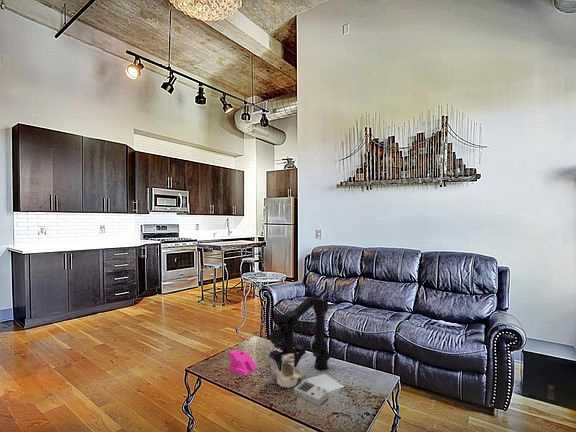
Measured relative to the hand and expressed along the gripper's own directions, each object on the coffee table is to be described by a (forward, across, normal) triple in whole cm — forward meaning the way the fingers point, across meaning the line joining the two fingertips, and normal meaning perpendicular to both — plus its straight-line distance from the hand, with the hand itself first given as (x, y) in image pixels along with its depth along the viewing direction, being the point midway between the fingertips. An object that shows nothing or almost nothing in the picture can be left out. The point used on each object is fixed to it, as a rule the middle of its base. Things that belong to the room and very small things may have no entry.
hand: (287, 369), depth 169 cm
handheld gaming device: (+7, -3, +17) cm, 19 cm away
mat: (+7, -15, +10) cm, 19 cm away
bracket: (+8, +14, -25) cm, 30 cm away
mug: (+8, -2, -17) cm, 19 cm away
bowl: (+7, 0, 0) cm, 7 cm away
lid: (+3, 0, 0) cm, 3 cm away
